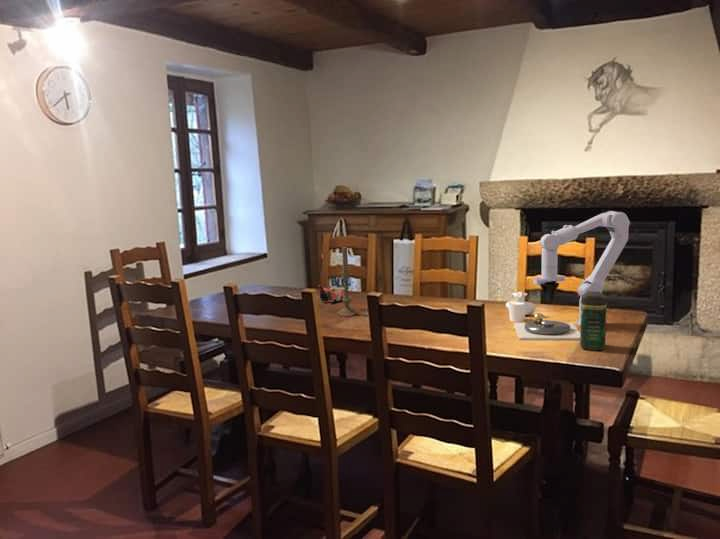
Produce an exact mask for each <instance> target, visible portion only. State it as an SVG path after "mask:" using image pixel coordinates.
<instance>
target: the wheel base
mask: <svg viewBox="0 0 720 539" xmlns="http://www.w3.org/2000/svg"><path fill="white" fill-rule="evenodd" d="M526 323H527V322H513V326H514V329H515V332H516V335H517V338H518V340H519V341H580V333H581V330H580V329H578V327H577V326H576V325H575V323H574V322H566V323H567V324H569V325H570V331H569V332H566V333H561V334H539V333H533V332H529V331H527V330H525V324H526Z"/></svg>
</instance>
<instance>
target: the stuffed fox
mask: <svg viewBox="0 0 720 539" xmlns="http://www.w3.org/2000/svg"><path fill="white" fill-rule="evenodd" d="M318 290H319V299H320V300H321V302H322V303H323V302H324V301H329V302H330V301H334V300H340V301H342V300H343V299H344V298H345V293H344V292H345V291H344V290H345V289H344V288H343V290H341V289H337V290H334V291H333V290H331V289H329V288H327V287H324V286H321V285H320V284H319V285H318ZM341 299H342V300H341Z"/></svg>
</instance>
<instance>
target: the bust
mask: <svg viewBox="0 0 720 539" xmlns="http://www.w3.org/2000/svg"><path fill="white" fill-rule="evenodd" d="M512 295H513V296H514V300H515V301H514V300H512V301H510V300H509V301H508V302H506V303H505V308H506V309H507V311H508V313H509V304H508V303H510V302H524V303H526V311H525V316H527V315H533V314H535V310H536V304H535V303H534V302H531V301H525V299H526V298H525V297H527V296H528V293H524V292H523V291H520V290H519V291H517V292H512Z"/></svg>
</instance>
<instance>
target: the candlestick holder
mask: <svg viewBox="0 0 720 539" xmlns="http://www.w3.org/2000/svg"><path fill="white" fill-rule="evenodd" d="M341 253H342V257H341V258H342V271H341V275H342V276H341V278H342V280H343V290H344V289H345V290H344V291H345V292H344V297H343V299H342V304H344V307H343V309H340V310H339V311H337V313H338V314H341V315H350V314H354V313H356V312H357V311H356V310H355V309H353V308H351V307H350V304H351V301H352V300H351V298H350V297H349V281H348V280H349V279H350V274H351V271H349V268H348V267H349V262H348V260H349V259H348V247H346V246H343V247H341Z"/></svg>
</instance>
